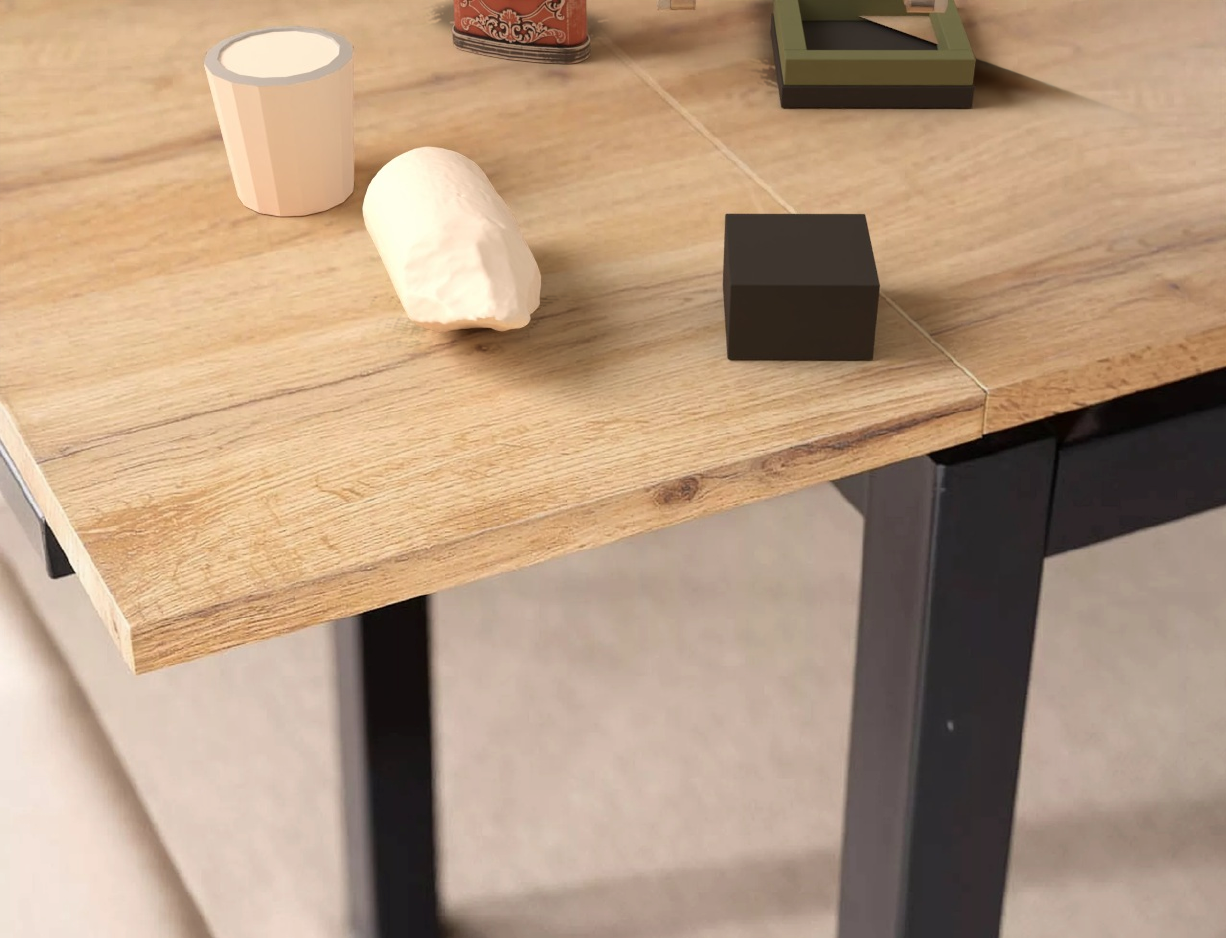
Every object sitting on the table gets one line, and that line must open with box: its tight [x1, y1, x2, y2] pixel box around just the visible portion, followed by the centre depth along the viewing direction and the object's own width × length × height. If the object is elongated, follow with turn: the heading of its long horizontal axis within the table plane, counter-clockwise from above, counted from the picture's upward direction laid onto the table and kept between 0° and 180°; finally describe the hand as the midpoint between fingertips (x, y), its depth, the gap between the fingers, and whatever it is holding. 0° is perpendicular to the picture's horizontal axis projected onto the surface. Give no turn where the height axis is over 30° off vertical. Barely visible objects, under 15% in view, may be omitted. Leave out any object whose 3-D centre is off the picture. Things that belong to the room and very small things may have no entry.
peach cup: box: [203, 25, 355, 217], centre depth 82 cm, size 7×7×7 cm
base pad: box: [769, 0, 977, 109], centre depth 95 cm, size 10×10×3 cm
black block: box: [722, 213, 881, 361], centre depth 73 cm, size 6×6×4 cm
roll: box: [361, 146, 542, 333], centre depth 73 cm, size 6×12×6 cm, turn 18°
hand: (799, 6), depth 66 cm, fingers open, 8 cm apart
